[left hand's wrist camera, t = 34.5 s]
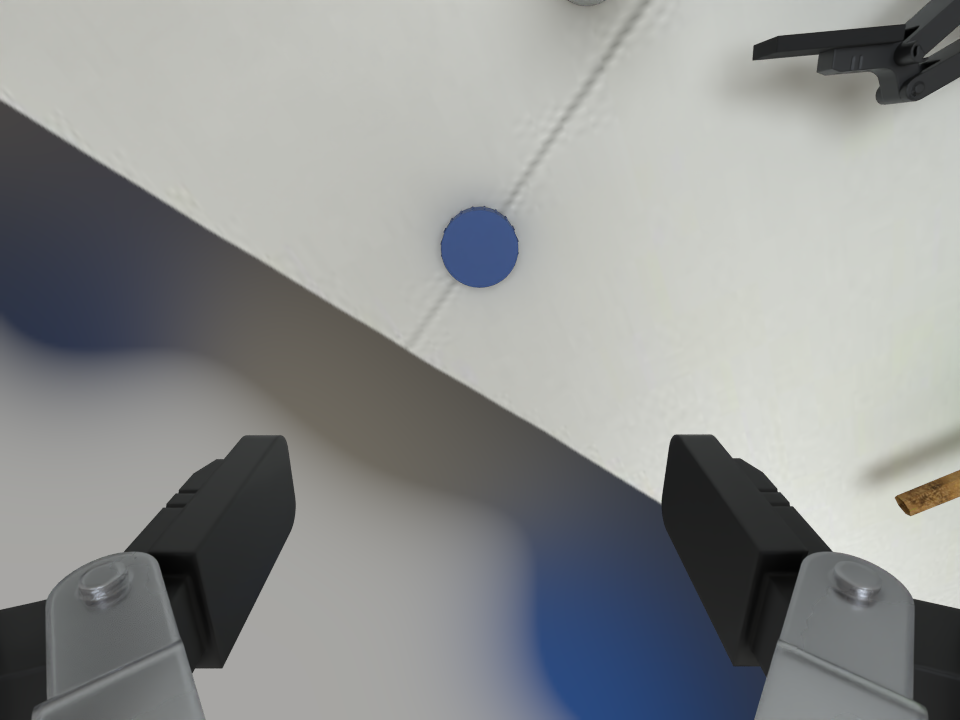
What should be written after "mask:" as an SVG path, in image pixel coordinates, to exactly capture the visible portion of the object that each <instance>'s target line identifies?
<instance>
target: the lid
mask: <svg viewBox="0 0 960 720" xmlns="http://www.w3.org/2000/svg"><path fill="white" fill-rule="evenodd" d="M514 230H515V229H514V227H513V226H511V224H510V222H509V221H508V220H507V217H506V216H505V217H504V216H503V215H502V214H500V213H499V212H497V210H496V209H495V210H493V209H490V208H486V207H485V206H484V207H474V208H473V207H472V208H469V209H466V210H464V211H460V213H459V214H458V215H456V216H455V217H454V218H452V219H451V221H450V223H449V225H448V227H447V228H445V230H444V236H443V239H442V241H441V253H442V255H441V256H442V259H443V262H444V264H445V266H446V268H447V270H448V271H449V273H450V274H451V275H452V276H453V277H454V278H455V279H456V280H458V281H459V282H461V283H463V284H465V285H468V286H471V287H478V288H480V287H489V286H492V285H495V284H497V283H499V282H500V281H502V280H503V279H504V278H506V277H507V276H508V274H509V273H510V272H511V271H512V269H513V267H514V266H515V263H516V260H517V256H518V239H517V237H516V235H515V232H514Z"/></svg>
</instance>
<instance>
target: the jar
mask: <svg viewBox="0 0 960 720" xmlns="http://www.w3.org/2000/svg"><path fill="white" fill-rule="evenodd" d="M569 1H570V2H572V3H574V4H578V5H583V6H590V5H596V4H599V3H601V2H603V1H605V0H569Z"/></svg>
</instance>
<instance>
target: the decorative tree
mask: <svg viewBox="0 0 960 720" xmlns="http://www.w3.org/2000/svg"><path fill="white" fill-rule="evenodd" d="M957 497H960V470H959V471H956V472H954V473H951V474H949V475H946V476H944V477H941V478H939V479H937V480H934V481H932V482H929V483H927V484H924V485H922V486H919V487H917V488H914V489H912V490H910V491H907V492H905V493H902V494H900V495H897V496H896V497H895V499H896V501H897V503H898V505H899V506H900V508H901V509H902V510H903V511H904V512H905V513H906V514H907V515H910V516H912V515H915V514H917V513H920V512H922V511H925V510H927V509H930V508H932V507H935V506H937V505H940V504H942V503H945V502H947V501H950V500H952V499H955V498H957Z"/></svg>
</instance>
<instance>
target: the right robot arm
mask: <svg viewBox="0 0 960 720" xmlns="http://www.w3.org/2000/svg"><path fill="white" fill-rule="evenodd" d="M959 25H960V0H931V1H930V2H929V3H928V4H927V5H925V6H924V7H923V8H922V9H921V10H920V11H919V12H918V13H917V14H916V15H914V16H913V17H912V18H911V19H910V20H909V21H908V22H907V23H906V24H902V25H891V26H880V27H869V28H859V29H848V30H837V31H826V32H815V33H805V34H794V35H783V36H777V37H774V38H772V39H769V40H767V41H764V42H761V43H759V44H756V45H754V49H753V60H763V59H774V58H785V57H796V56H807V55H818V54H819V58H818V66H817V73H820V74H823V75H835V74H847V73H858V72H872V73H874V74H876V76H877V77H878V80H879V84H880V87H879V88H878V90H877V92H876V100H877V102H878V103H880V104H883V105H886V104H895V103H903V102H912V101H917V100H920V99H922V98H924V97H926V96H927V95H929V94H931V93H933V92H934V91H936V90H938V89H940V88H941V87H943V86H945V85H947V84H948V83H950V82H952V81H954V80H955V79H957V78H959V77H960V39H959V40H957V41H955V42H954V43H952V44H950V45H948V46H947V47H945V48H943V49H942V50H940V51H938V52H936V53H935V54H933V55H931V56H930V57H927V58H923V57H924V55H926V54H927V53H928V52H929V51H930V50H931V49H932V48H934V47H935V46H936V45H937V44H938V43H939V42H940V41H942V40H943V39H944V38H945V37H946V36H947V35H948V34H950V33H951V32H952V31H953V30H954V29H955V28H956V27H958V26H959Z"/></svg>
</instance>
